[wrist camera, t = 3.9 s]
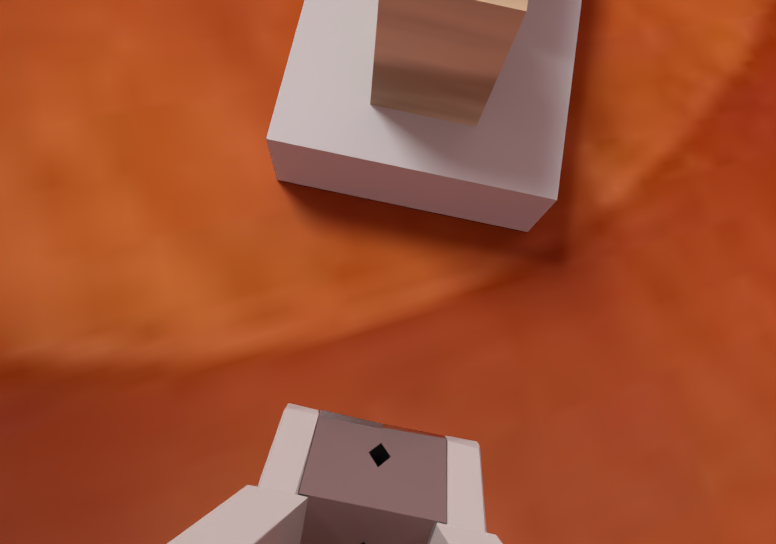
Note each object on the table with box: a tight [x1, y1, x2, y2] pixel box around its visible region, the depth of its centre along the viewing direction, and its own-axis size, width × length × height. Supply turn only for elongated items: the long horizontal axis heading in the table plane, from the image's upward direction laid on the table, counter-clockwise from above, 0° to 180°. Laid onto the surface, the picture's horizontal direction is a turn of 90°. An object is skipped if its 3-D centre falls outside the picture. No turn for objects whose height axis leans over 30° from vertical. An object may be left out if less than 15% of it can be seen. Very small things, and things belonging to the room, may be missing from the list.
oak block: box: [370, 0, 528, 127], centre depth 22 cm, size 5×4×7 cm
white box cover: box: [266, 0, 582, 232], centre depth 28 cm, size 16×12×4 cm
